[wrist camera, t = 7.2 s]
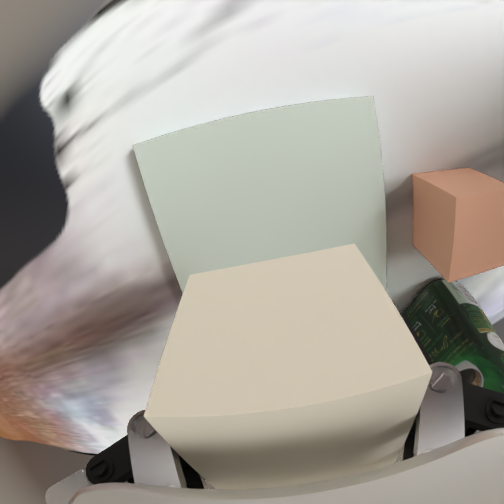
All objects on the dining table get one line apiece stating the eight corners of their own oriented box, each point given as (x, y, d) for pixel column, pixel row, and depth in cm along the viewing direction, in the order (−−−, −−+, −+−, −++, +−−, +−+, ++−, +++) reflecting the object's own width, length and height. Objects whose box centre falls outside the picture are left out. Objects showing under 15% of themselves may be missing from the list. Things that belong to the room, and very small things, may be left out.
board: (366, 96, 17) (373, 96, 16) (380, 292, 24) (385, 300, 23) (139, 143, 19) (132, 145, 18) (201, 324, 26) (199, 333, 25)
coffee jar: (421, 356, 28) (480, 494, 11) (373, 341, 27) (432, 515, 10) (475, 290, 24) (570, 422, 7) (433, 263, 23) (554, 430, 6)
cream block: (354, 243, 10) (432, 372, 5) (356, 358, 13) (390, 470, 7) (189, 274, 11) (143, 416, 5) (231, 379, 13) (223, 495, 8)
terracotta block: (468, 167, 19) (515, 188, 13) (465, 232, 21) (504, 264, 16) (411, 173, 19) (456, 197, 14) (412, 244, 22) (448, 282, 17)
